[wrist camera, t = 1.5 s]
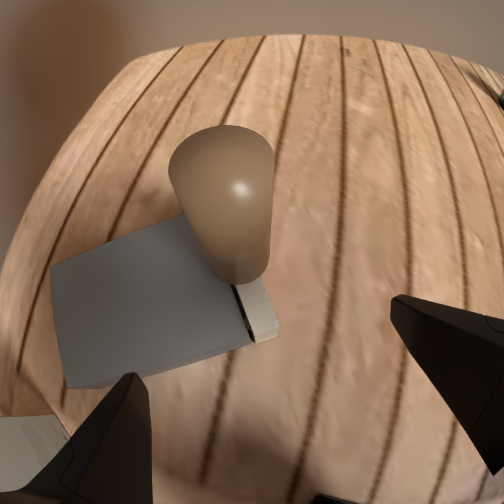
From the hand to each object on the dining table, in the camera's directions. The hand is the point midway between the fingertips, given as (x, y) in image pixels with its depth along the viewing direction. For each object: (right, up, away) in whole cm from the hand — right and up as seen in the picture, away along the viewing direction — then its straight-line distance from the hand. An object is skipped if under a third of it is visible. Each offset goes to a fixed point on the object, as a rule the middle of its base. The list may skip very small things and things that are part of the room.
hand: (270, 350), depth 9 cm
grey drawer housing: (-9, -2, +14) cm, 17 cm away
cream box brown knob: (-7, -1, +14) cm, 16 cm away
